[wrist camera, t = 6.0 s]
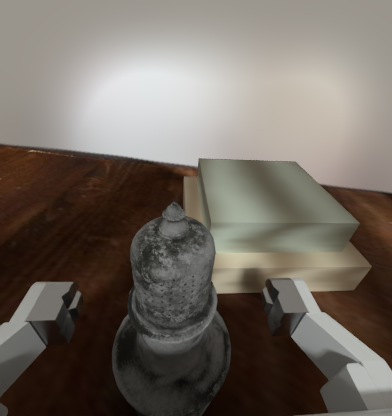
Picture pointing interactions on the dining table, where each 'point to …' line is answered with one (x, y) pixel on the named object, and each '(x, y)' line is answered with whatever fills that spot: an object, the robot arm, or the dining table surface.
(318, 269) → the brick tower base
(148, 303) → the dark grey ornamental finial
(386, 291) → the dining table surface
